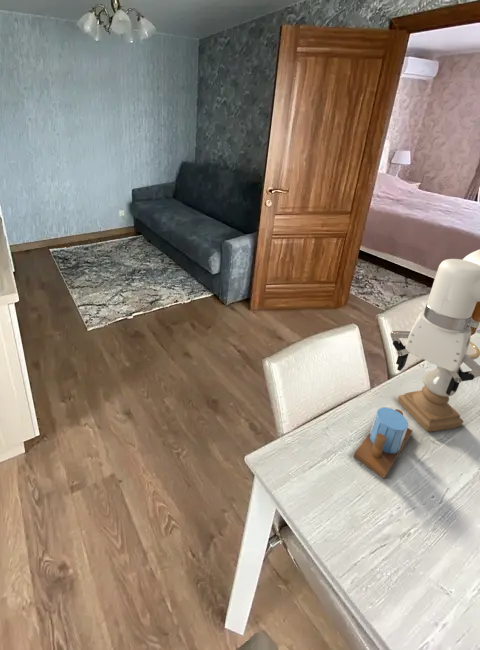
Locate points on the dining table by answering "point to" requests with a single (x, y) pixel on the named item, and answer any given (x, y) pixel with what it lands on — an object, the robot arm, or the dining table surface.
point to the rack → (378, 453)
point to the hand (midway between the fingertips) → (423, 379)
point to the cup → (389, 429)
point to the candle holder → (435, 399)
